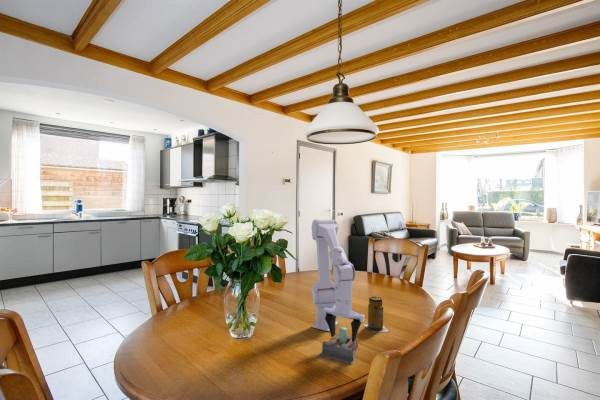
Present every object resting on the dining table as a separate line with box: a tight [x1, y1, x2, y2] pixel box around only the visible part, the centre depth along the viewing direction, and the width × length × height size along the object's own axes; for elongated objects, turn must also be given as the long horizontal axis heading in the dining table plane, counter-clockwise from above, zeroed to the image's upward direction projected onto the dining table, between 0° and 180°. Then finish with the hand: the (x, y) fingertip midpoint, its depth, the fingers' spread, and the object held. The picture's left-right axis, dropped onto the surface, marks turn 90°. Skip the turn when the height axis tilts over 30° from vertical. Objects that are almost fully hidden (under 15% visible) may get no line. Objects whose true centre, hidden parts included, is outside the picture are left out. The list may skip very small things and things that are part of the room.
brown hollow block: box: [328, 333, 359, 353], centre depth 106 cm, size 8×8×4 cm
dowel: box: [338, 326, 348, 344], centre depth 106 cm, size 3×3×7 cm
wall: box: [319, 341, 356, 365], centre depth 101 cm, size 3×11×4 cm, turn 61°
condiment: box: [363, 296, 390, 334], centre depth 125 cm, size 7×8×12 cm
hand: (343, 338), depth 106 cm, fingers open, 7 cm apart
